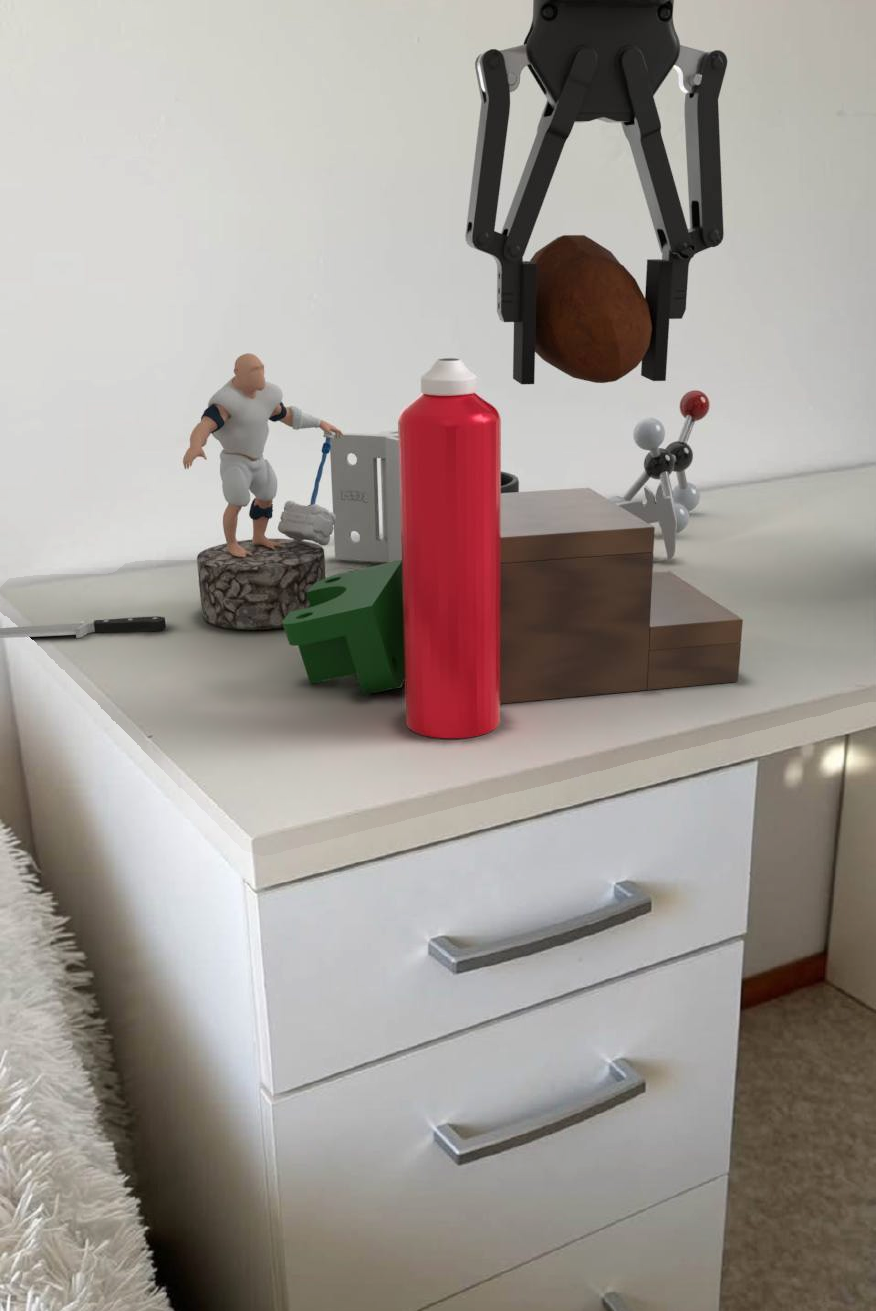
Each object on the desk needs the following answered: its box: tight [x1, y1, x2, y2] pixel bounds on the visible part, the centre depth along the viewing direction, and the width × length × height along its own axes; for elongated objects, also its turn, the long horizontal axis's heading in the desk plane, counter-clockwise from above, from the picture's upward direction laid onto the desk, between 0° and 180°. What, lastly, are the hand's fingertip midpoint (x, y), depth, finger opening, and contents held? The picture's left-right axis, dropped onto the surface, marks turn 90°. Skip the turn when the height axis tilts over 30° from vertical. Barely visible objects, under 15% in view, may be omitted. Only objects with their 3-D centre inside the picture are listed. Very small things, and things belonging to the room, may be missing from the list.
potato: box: [529, 234, 652, 384], centre depth 85 cm, size 8×12×8 cm, turn 20°
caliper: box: [615, 482, 677, 561], centre depth 116 cm, size 20×1×6 cm, turn 78°
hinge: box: [329, 429, 402, 563], centre depth 112 cm, size 14×5×10 cm, turn 46°
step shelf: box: [500, 487, 744, 705], centre depth 89 cm, size 16×12×10 cm
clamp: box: [282, 559, 405, 695], centre depth 90 cm, size 12×6×9 cm, turn 166°
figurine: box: [182, 352, 343, 630], centre depth 99 cm, size 15×9×18 cm, turn 141°
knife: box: [0, 615, 167, 639], centre depth 99 cm, size 15×1×2 cm
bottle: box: [397, 357, 502, 739], centre depth 78 cm, size 6×5×20 cm
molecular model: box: [607, 389, 711, 535], centre depth 126 cm, size 8×12×11 cm
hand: (588, 378), depth 84 cm, fingers closed on potato, 7 cm apart
